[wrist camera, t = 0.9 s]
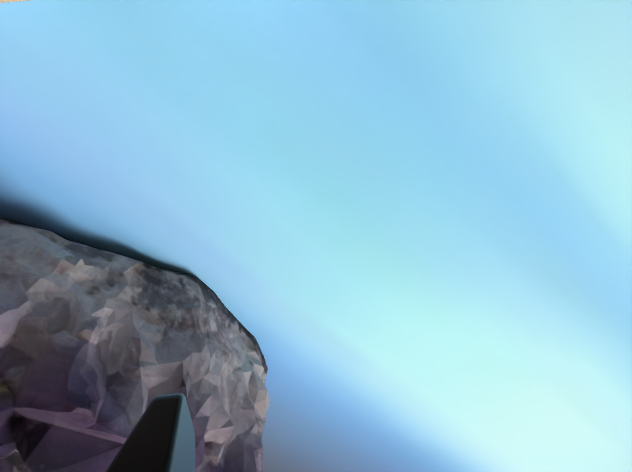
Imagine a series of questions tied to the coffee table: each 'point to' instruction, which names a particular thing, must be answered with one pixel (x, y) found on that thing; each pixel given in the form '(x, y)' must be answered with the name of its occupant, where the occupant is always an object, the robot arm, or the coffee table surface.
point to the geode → (116, 358)
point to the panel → (11, 0)
